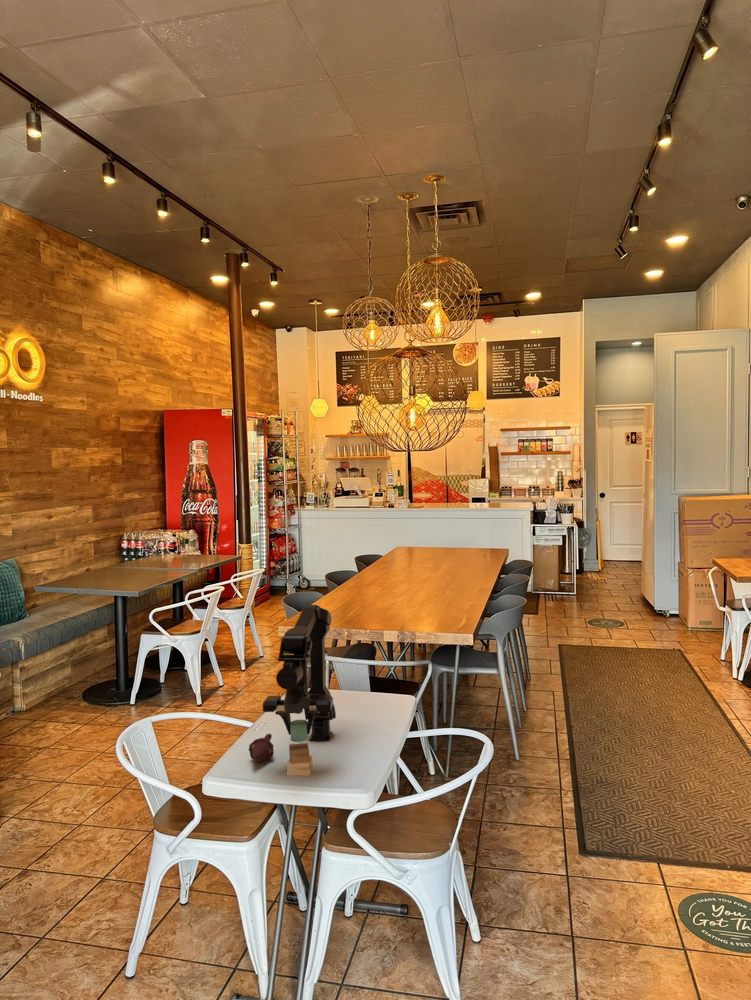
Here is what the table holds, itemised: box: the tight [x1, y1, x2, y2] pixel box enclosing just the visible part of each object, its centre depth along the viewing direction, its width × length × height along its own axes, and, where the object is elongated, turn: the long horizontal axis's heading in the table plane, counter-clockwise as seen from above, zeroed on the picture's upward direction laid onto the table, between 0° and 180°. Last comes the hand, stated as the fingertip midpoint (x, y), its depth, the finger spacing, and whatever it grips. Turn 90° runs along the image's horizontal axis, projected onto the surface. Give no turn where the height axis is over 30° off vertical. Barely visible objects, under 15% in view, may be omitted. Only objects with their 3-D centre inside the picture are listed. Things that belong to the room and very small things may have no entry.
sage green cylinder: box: [290, 719, 309, 743], centre depth 193 cm, size 5×5×4 cm
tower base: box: [286, 754, 314, 777], centre depth 194 cm, size 6×6×4 cm
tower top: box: [288, 742, 310, 764], centre depth 194 cm, size 5×5×4 cm
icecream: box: [248, 733, 275, 764], centre depth 201 cm, size 7×7×15 cm
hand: (299, 734), depth 193 cm, fingers closed on sage green cylinder, 5 cm apart
